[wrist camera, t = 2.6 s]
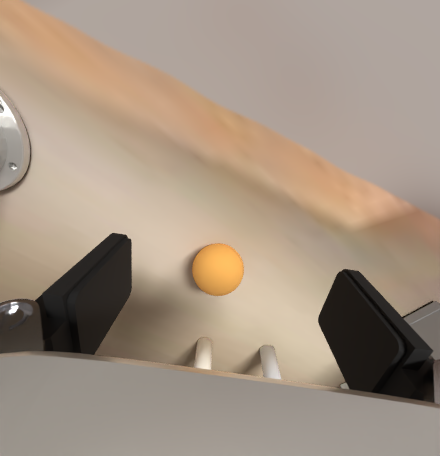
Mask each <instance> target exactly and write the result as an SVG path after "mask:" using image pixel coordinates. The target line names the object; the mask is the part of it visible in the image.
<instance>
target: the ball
mask: <svg viewBox="0 0 440 456" xmlns="http://www.w3.org/2000/svg"><path fill="white" fill-rule="evenodd" d="M192 273H193V278H194V280H195V282H196V284H197V286H198V287H199V288H200V289H201V290H202V291H204V292H205V293H207V294H210V295H214V296H222V295H226V294H229V293H231V292H232V291H234V290H235V289H236V288H237V287H238V285H239V284H240V282H241V280H242V278H243V273H244V266H243V262H242V259H241V257H240V255H239V254H238V253H237V252H236V251H235V250H234V249H233V248H232V247H230V246H228V245H225V244H211V245H208V246H206V247H204V248H203V249H202V250H201V251H200V252H199V253H198V254H197V255H196V257H195V259H194V262H193V266H192Z"/></svg>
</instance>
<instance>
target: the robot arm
mask: <svg viewBox="0 0 440 456" xmlns="http://www.w3.org/2000/svg"><path fill="white" fill-rule="evenodd" d="M29 160H30V145H29V139H28V135H27V131H26V128H25V126H24V123H23V121H22V119H21V117H20V115H19V113H18V112H17V110H16V108H15V107H14V105H13V104H12V102H11V101H10V100H9V99H8V97H7V96H6V95H5V94H4V93H3V91H2V90H1V89H0V190H4V189H7V188H9V187H11V186H14V185H15V184H16V183H17V182H19V181H20V180H21V179H22V177H23V176H24V174H25V173H26V171H27V168H28V165H29ZM131 288H132V270H131V239H128V237H127V235H123V234H117V233H112V234H110V235H109V236H108V237H107V238H106V239H105V240H103V241H102V242H101V243H100V244H99V245H98V246H97V247H95V248H94V249H93V250H92V251H91V252H90V253H88V254H87V255H86V256H85V257H84V258H83V259H82V260H80V261H79V262H78V263H77V264H76V265H75V266H73V267H72V268H71V269H70V270H69V271H68V272H67V273H65V274H64V275H63V276H62V277H61V278H60V279H58V280H57V281H56V282H55V283H54V284H53V285H52V286H50V287H49V288H48V289H47V290H46V291H45V292H43V293H42V295H41V296H40V297H39V298H38V299H36V300H35V301H34V300H30V299H14V300H8V301H5V302H1V303H0V456H440V359H438V360H435V361H434V362H433V363H432V362H431V361H430V359H429V356H430V355H431V354H432V352H433V350H432V349H431V348H430V347H429V345H428V344H427V343H426V342H425V341H424V340H423V339H422V338H421V337H420V336H419V335H418V334H417V333H416V332H415V330H414V329H413V328H412V327H411V326H410V325H409V324H408V323H407V322H406V321H405V320H404V319H403V318H402V317H401V316H400V314H399V313H398V312H397V311H396V310H395V309H394V308H393V307H392V306H391V305H390V304H389V303H388V302H387V301H386V300H385V298H384V297H383V296H382V295H381V294H380V293H379V292H378V291H377V290H376V289H375V288H374V287H373V286H372V285H371V283H370V282H369V281H368V280H367V279H366V278H365V277H364V276H363V275H362V274H361V273H360V272H359V271H354V270H348V269H344V270H342V271H341V272H339V273H338V274H337V276H336V278H335V281H334V283H333V285H332V287H331V290H330V292H329V294H328V296H327V299H326V301H325V303H324V305H323V308H322V310H321V312H320V315H319V318H318V322H319V325H320V327H321V330H322V332H323V334H324V336H325V338H326V340H327V342H328V344H329V347H330V349H331V351H332V353H333V355H334V357H335V359H336V362H337V364H338V366H339V368H340V370H341V372H342V374H343V376H344V379H345V381H346V383H347V385H348V387H349V389H343V388H336V387H329V386H322V385H316V384H309V383H302V382H295V381H288V380H280V379H273V378H266V377H259V376H252V375H245V374H238V373H230V372H223V371H216V370H209V369H201V368H194V367H186V366H179V365H171V364H164V363H156V362H149V361H141V360H134V359H125V358H117V357H108V356H100V355H94V354H95V352H96V350H97V349H98V347H99V346H100V344H101V342H102V341H103V339H104V337H105V336H106V334H107V332H108V331H109V329H110V327H111V326H112V324H113V322H114V321H115V319H116V317H117V316H118V314H119V312H120V311H121V309H122V308H123V306H124V304H125V303H126V301H127V299H128V298H129V296H130V293H131Z"/></svg>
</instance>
